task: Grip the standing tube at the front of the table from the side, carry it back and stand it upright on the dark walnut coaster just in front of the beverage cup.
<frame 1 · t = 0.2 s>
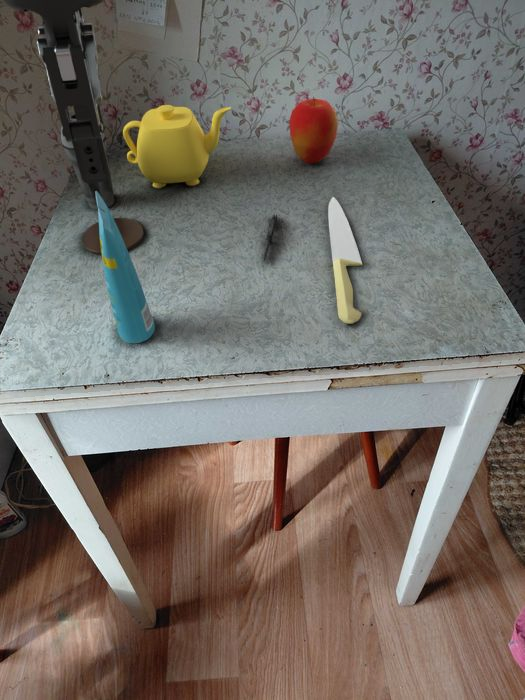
hand: (95, 155, 45), 29 cm above the table, tool pointing down, fingers open, 8 cm apart
apple: (312, 161, 104), on the table
folding knife: (269, 243, 85), on the table
teapot: (184, 175, 102), on the table
coaster: (113, 237, 88), on the table
tube: (136, 333, 72), on the table
beverage cup: (102, 203, 96), on the table
knife: (345, 255, 82), on the table
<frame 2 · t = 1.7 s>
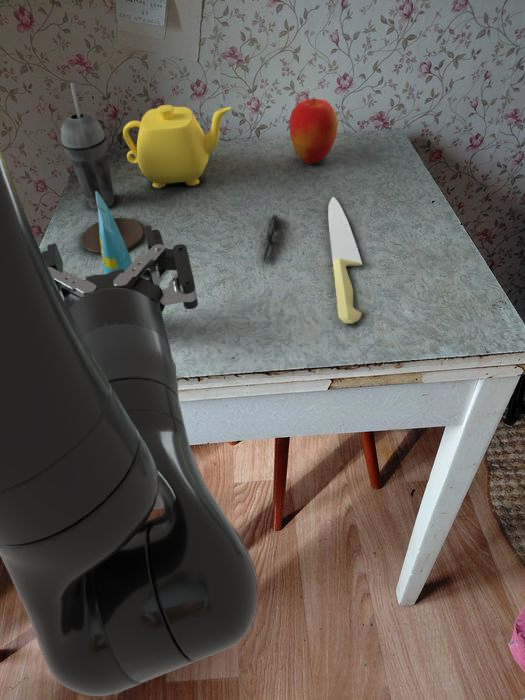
hand: (102, 242, 49), 22 cm above the table, tool horizontal, fingers open, 8 cm apart
nothing on the table moved.
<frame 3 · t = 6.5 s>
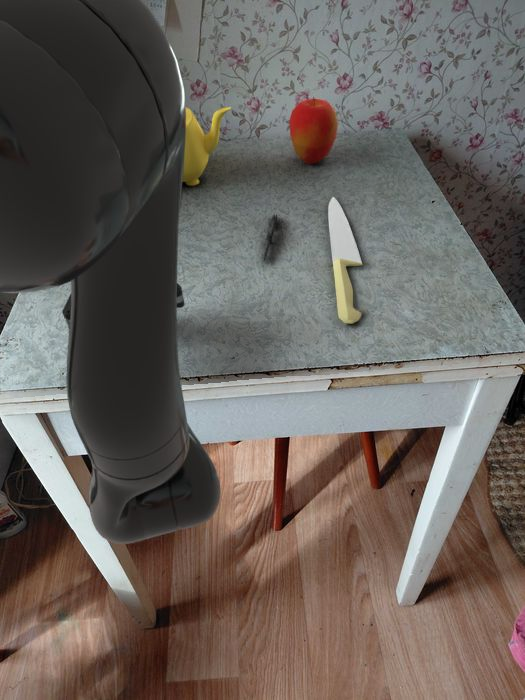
hand: (117, 260, 66), 10 cm above the table, tool horizontal, fingers closed on tube, 4 cm apart
tube: (136, 333, 72), on the table, touching gripper
everything else where it was.
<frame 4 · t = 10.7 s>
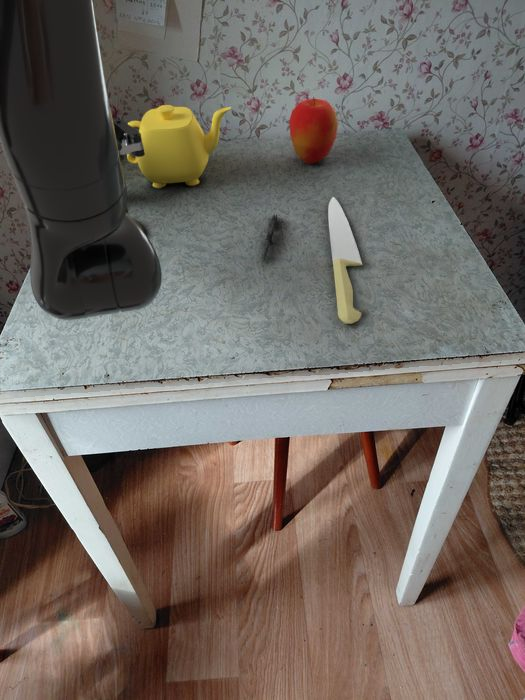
hand: (82, 121, 68), 22 cm above the table, tool horizontal, fingers closed on tube, 4 cm apart
tube: (103, 203, 73), point 12 cm above the table, touching gripper
everything else where it was.
when the fingers open (11 cm above the table, at t = 15.2 s): tube stays where it is, resting on coaster.
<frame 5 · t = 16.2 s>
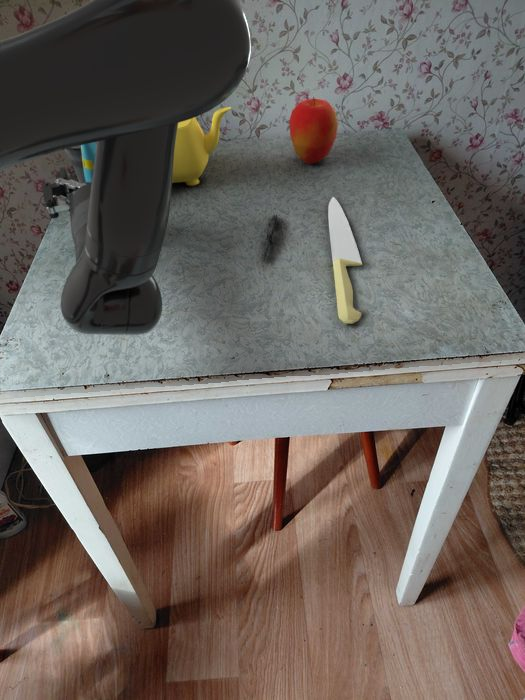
hand: (92, 168, 80), 12 cm above the table, tool horizontal, fingers open, 8 cm apart
tube: (113, 235, 87), resting on coaster
everything else where it was.
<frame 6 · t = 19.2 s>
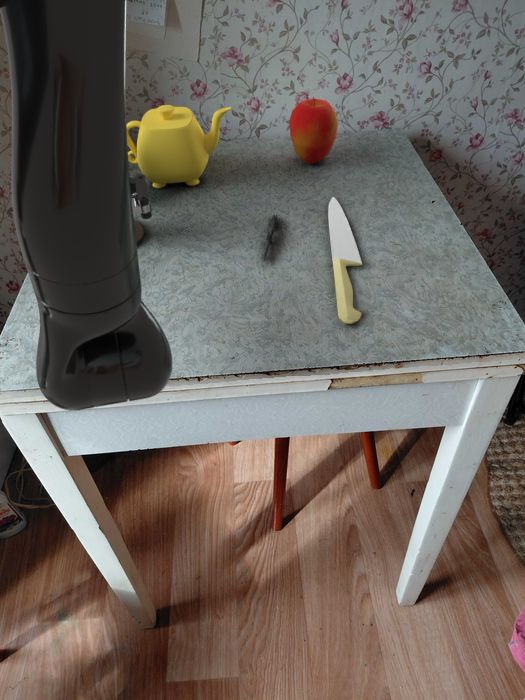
hand: (83, 175, 65), 18 cm above the table, tool horizontal, fingers open, 8 cm apart
nothing on the table moved.
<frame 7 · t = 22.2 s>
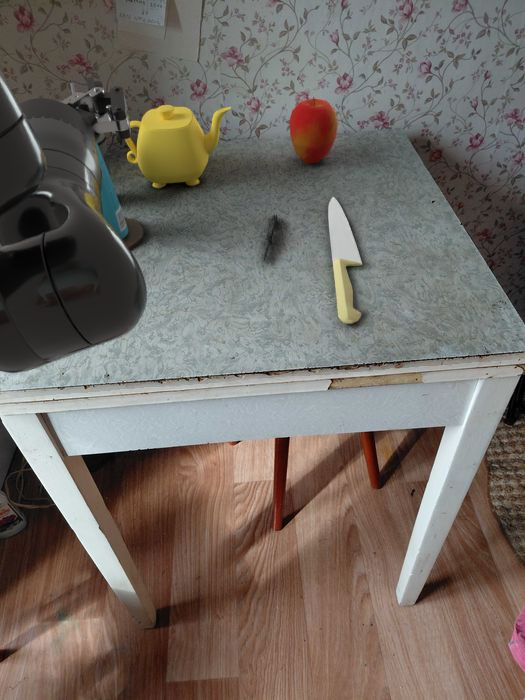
hand: (48, 93, 52), 30 cm above the table, tool horizontal, fingers open, 8 cm apart
nothing on the table moved.
at the end: tube inside the target area on the table beside the beverage cup (0.1 cm from its centre), point 0.6 cm above the table; tube tilted 0°; the gripper is holding nothing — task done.
